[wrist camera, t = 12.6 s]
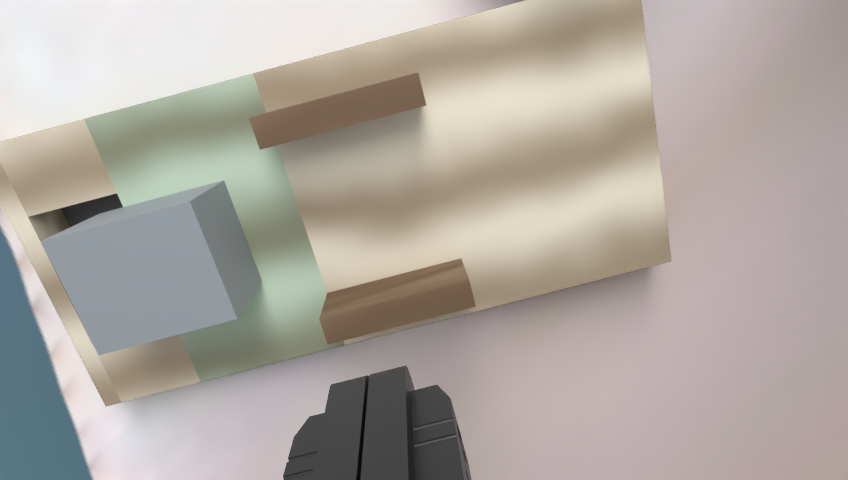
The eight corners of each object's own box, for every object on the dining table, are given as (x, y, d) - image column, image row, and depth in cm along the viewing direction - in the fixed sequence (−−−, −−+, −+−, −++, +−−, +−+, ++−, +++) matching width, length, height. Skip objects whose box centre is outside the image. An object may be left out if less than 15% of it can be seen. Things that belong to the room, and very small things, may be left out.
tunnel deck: (12, 142, 30) (-87, 159, 24) (613, -20, 29) (673, -46, 23) (129, 379, 35) (72, 444, 29) (648, 245, 34) (704, 283, 28)
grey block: (99, 213, 28) (40, 241, 24) (223, 180, 28) (189, 201, 24) (144, 311, 30) (98, 355, 26) (262, 280, 30) (237, 319, 25)
